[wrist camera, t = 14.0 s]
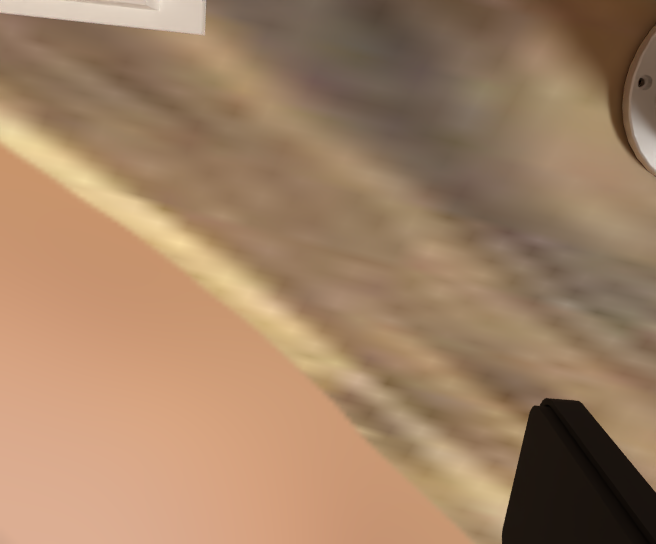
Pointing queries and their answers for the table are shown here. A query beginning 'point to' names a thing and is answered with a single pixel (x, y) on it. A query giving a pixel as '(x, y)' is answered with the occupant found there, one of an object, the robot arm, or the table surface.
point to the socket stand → (118, 12)
